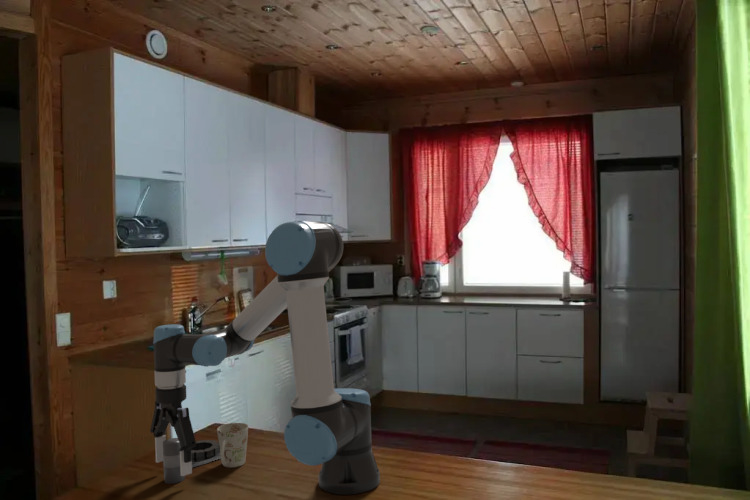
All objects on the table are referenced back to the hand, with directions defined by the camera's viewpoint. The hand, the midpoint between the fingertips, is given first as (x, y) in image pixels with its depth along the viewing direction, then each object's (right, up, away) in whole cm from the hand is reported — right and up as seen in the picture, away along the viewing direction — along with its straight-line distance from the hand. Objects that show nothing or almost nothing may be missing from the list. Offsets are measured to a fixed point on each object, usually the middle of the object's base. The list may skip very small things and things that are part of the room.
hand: (173, 467), depth 157 cm
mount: (+2, -3, +16) cm, 17 cm away
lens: (0, -3, 0) cm, 3 cm away
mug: (+13, -3, +8) cm, 15 cm away
